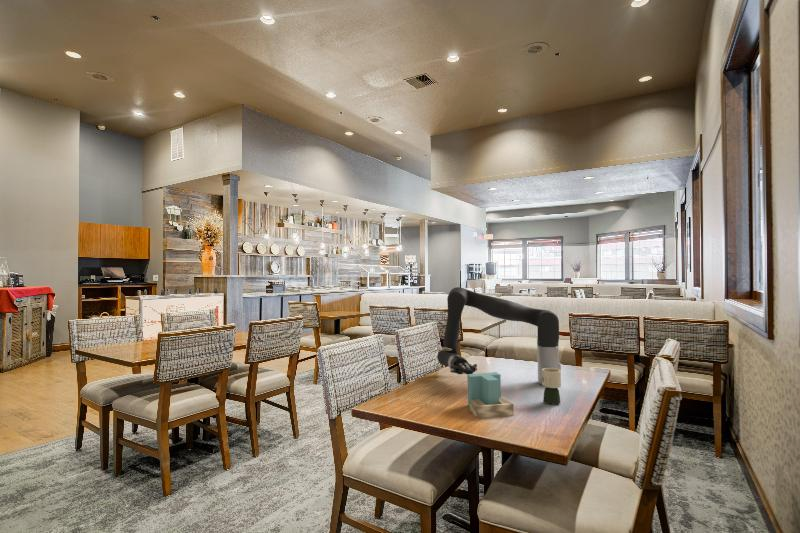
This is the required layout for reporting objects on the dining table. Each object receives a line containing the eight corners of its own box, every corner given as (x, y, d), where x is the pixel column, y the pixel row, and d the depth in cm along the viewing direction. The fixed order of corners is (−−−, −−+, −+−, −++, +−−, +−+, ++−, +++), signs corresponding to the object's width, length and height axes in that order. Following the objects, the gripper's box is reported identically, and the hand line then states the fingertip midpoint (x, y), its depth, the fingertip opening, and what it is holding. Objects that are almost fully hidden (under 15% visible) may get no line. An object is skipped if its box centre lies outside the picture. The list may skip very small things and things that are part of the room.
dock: (504, 407, 161) (503, 397, 161) (513, 415, 153) (513, 404, 153) (470, 410, 159) (469, 399, 159) (477, 418, 151) (477, 406, 151)
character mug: (546, 398, 172) (545, 366, 172) (564, 400, 168) (564, 368, 168) (538, 405, 163) (537, 371, 163) (557, 408, 159) (556, 373, 159)
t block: (496, 402, 168) (495, 372, 168) (509, 411, 157) (508, 378, 157) (468, 405, 165) (467, 374, 166) (478, 414, 155) (478, 381, 155)
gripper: (472, 371, 197) (485, 380, 180) (444, 373, 195) (455, 383, 178) (471, 354, 197) (484, 362, 180) (443, 357, 195) (454, 365, 178)
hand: (470, 372), depth 179 cm, fingers closed
